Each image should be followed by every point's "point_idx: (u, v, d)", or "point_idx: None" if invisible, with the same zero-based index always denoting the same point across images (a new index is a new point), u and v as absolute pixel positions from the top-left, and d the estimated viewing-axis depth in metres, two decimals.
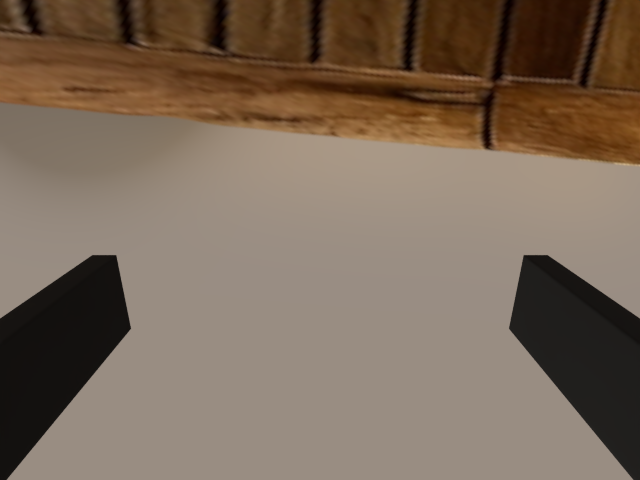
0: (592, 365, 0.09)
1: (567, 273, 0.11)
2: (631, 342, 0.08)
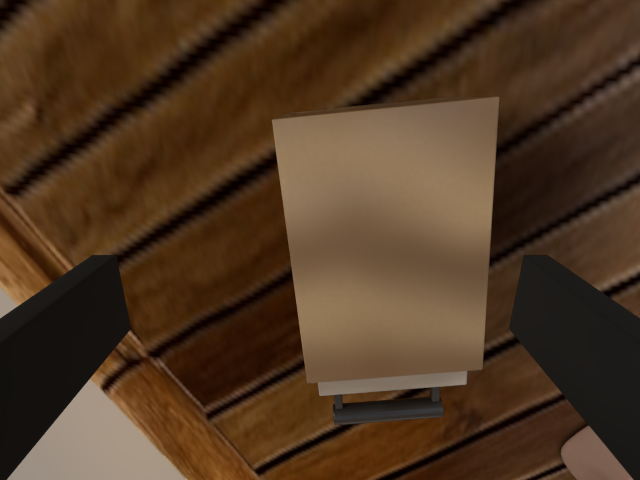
0: (591, 365, 0.09)
1: (567, 273, 0.11)
2: (631, 342, 0.08)
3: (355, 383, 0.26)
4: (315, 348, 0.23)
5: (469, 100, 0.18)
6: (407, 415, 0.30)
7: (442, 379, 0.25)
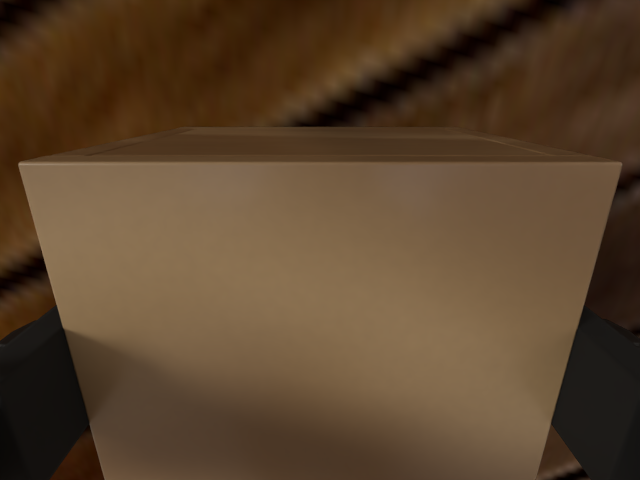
0: None
1: None
2: None
3: None
4: None
5: (544, 164, 0.07)
6: None
7: None
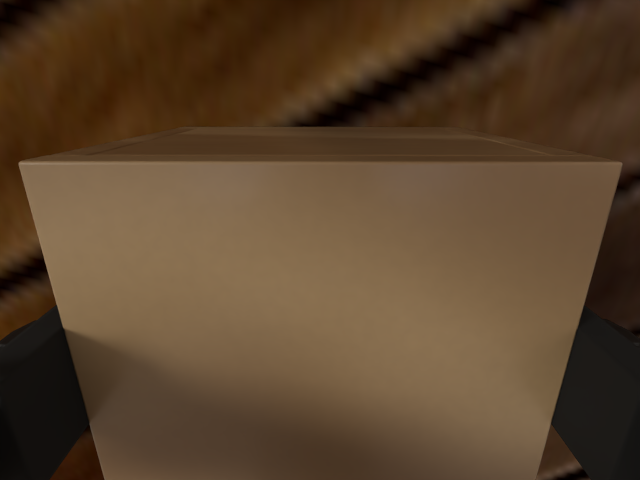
0: None
1: None
2: None
3: None
4: None
5: (544, 164, 0.07)
6: None
7: None
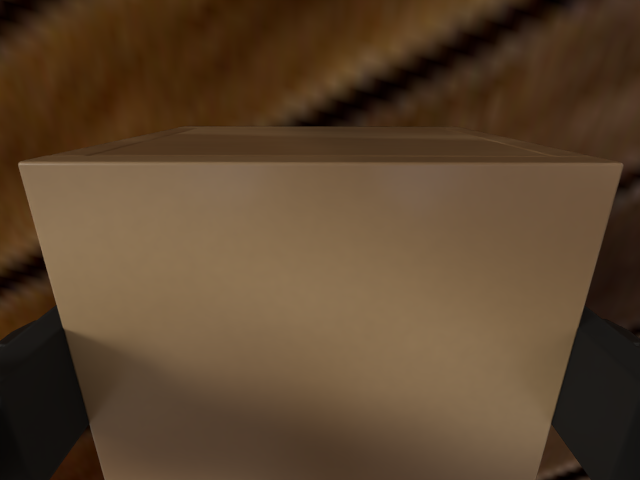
0: None
1: None
2: None
3: None
4: None
5: (545, 165, 0.07)
6: None
7: None
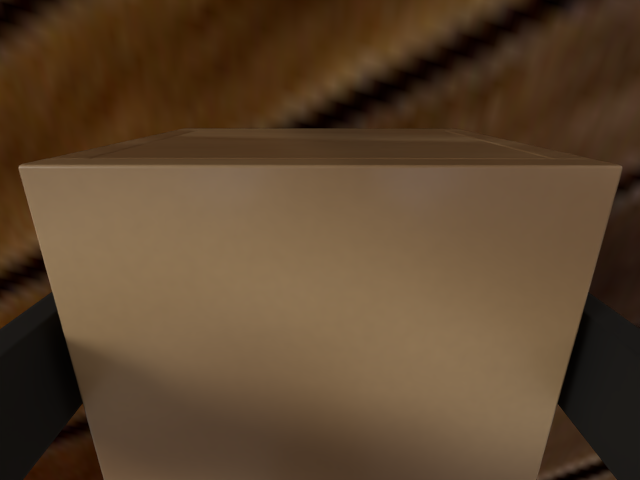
0: (570, 358, 0.09)
1: None
2: (606, 334, 0.08)
3: None
4: None
5: (544, 167, 0.07)
6: None
7: None
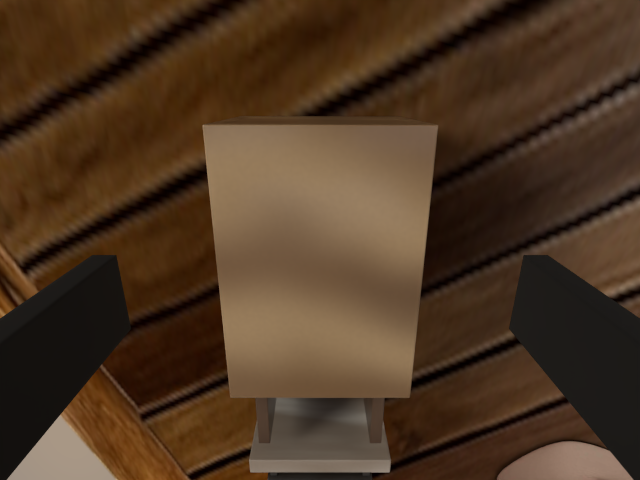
0: (591, 365, 0.09)
1: (567, 273, 0.11)
2: (631, 342, 0.08)
3: (284, 464, 0.27)
4: (240, 363, 0.23)
5: (407, 125, 0.18)
6: None
7: (367, 466, 0.27)
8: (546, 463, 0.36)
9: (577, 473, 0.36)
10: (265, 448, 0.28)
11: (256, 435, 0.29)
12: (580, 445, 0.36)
